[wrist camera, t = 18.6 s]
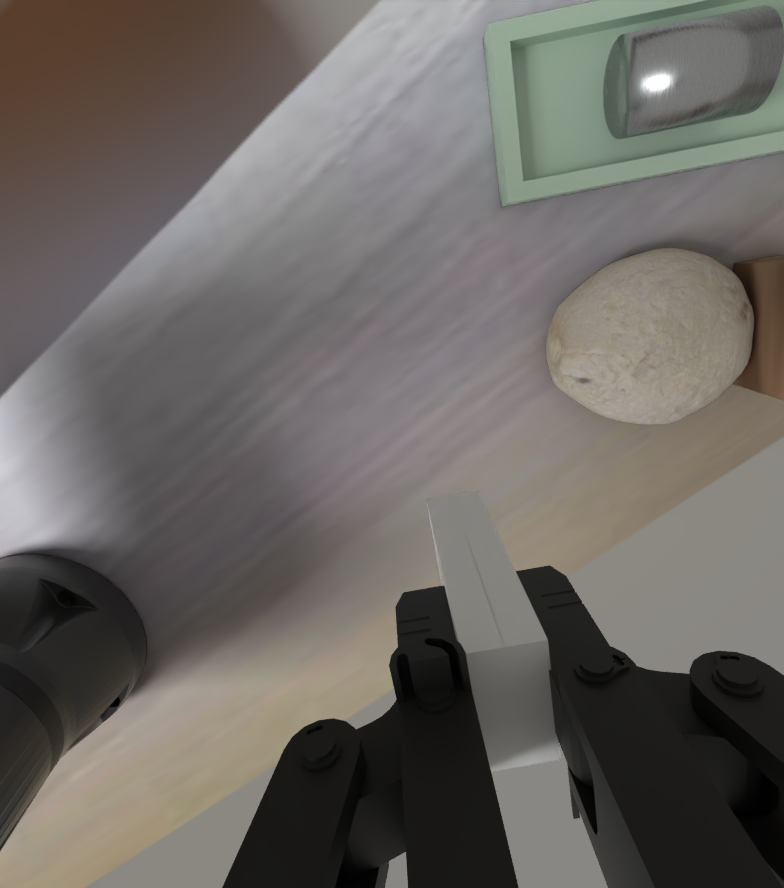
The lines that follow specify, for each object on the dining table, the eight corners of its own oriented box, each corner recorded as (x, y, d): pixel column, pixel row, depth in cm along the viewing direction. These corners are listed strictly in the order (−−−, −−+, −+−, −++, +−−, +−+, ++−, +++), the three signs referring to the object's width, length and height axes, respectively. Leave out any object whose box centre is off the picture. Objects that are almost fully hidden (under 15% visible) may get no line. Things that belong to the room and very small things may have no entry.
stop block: (731, 383, 37) (783, 400, 32) (734, 263, 35) (790, 262, 30) (776, 375, 37) (833, 391, 32) (781, 254, 34) (845, 252, 30)
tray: (500, 207, 33) (507, 203, 31) (482, 38, 31) (489, 22, 29) (827, 144, 32) (855, 136, 31) (839, -36, 30) (870, -57, 28)
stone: (689, 301, 40) (768, 228, 32) (727, 426, 37) (823, 379, 29) (521, 311, 39) (562, 238, 31) (547, 442, 36) (598, 397, 28)
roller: (600, 57, 30) (637, 14, 26) (724, 32, 30) (784, -17, 26) (606, 149, 32) (644, 123, 27) (725, 126, 31) (783, 95, 27)
